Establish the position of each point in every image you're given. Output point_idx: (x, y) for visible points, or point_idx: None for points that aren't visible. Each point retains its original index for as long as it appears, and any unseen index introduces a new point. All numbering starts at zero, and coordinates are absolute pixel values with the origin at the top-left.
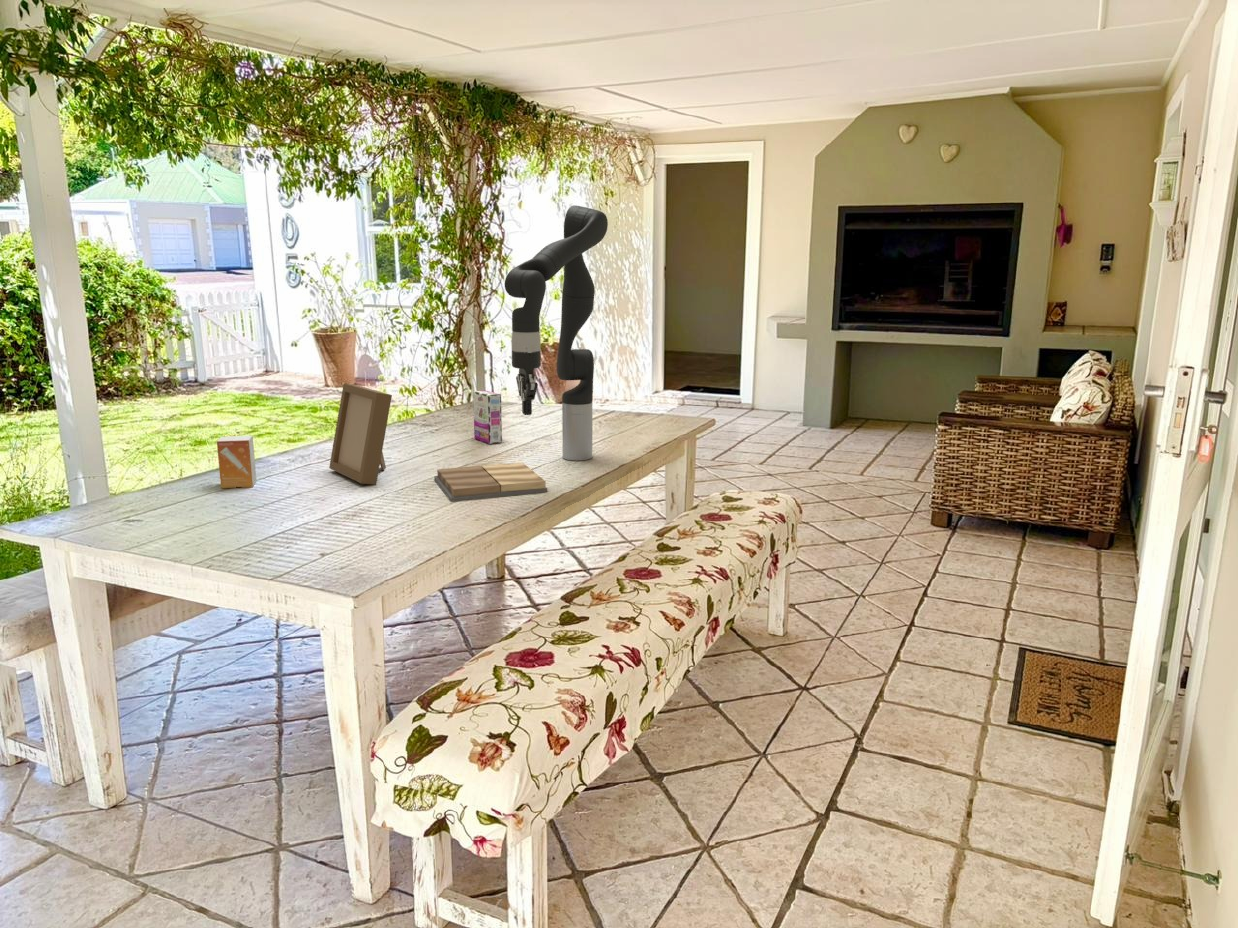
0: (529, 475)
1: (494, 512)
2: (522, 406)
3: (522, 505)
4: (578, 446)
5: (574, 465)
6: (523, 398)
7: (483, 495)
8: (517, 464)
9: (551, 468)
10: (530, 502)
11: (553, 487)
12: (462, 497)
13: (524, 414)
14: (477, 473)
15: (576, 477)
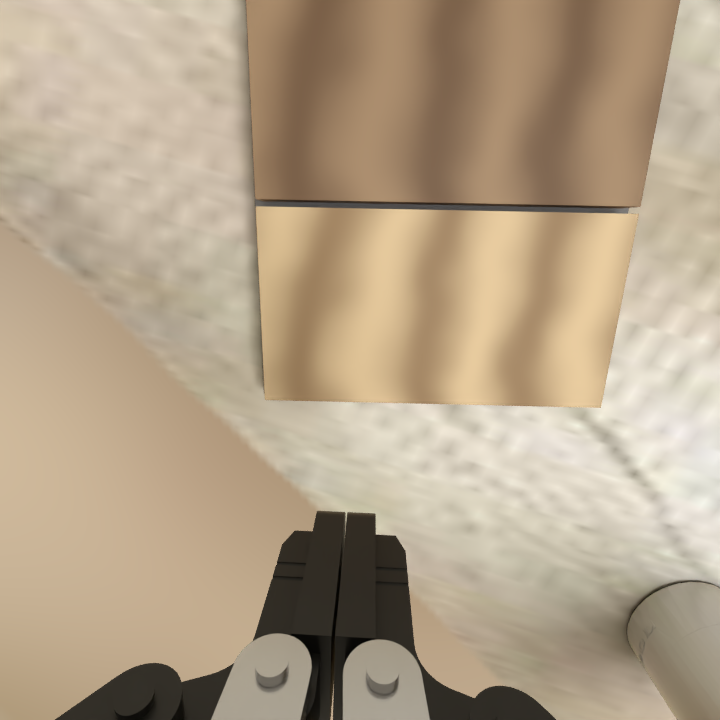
0: (373, 368)
1: (43, 114)
2: (362, 569)
3: (117, 250)
4: (667, 662)
5: (581, 581)
6: (250, 679)
7: (251, 122)
8: (579, 377)
9: (582, 502)
10: (149, 290)
11: (321, 426)
12: (246, 13)
13: (316, 514)
14: (499, 152)
15: (420, 535)
